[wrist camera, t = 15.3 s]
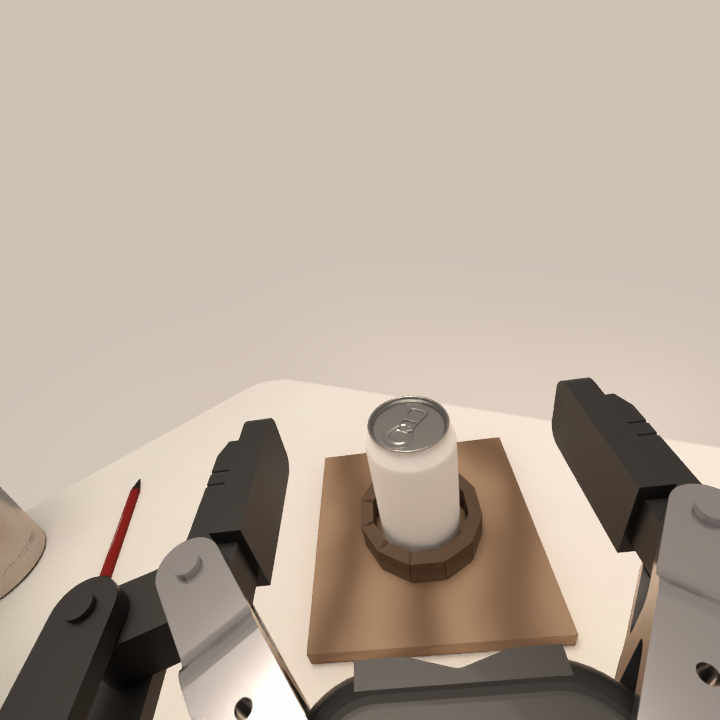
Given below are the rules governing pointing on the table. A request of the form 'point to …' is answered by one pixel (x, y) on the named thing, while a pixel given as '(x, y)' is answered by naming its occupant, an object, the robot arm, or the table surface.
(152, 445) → the table surface
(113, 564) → the pencil
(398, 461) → the can
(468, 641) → the socket board
